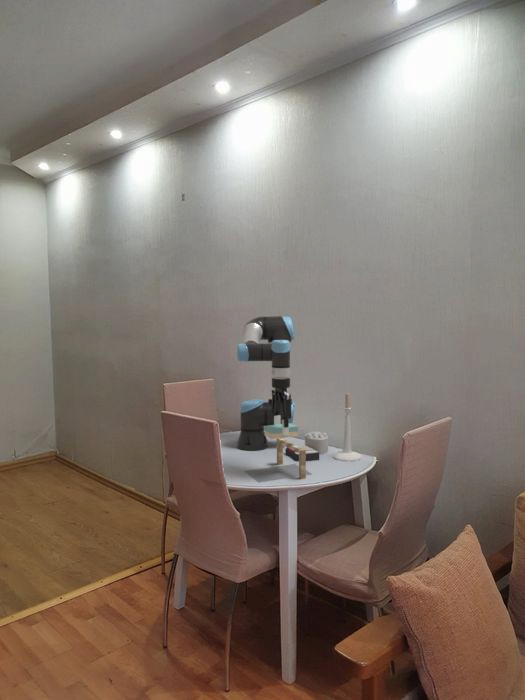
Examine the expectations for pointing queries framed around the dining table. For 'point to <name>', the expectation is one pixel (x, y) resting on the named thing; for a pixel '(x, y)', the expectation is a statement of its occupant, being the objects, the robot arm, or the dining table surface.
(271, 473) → the mat
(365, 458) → the dining table surface
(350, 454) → the candlestick
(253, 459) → the dining table surface
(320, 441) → the lumpy-topped squat cylinder
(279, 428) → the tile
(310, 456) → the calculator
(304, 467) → the rail
